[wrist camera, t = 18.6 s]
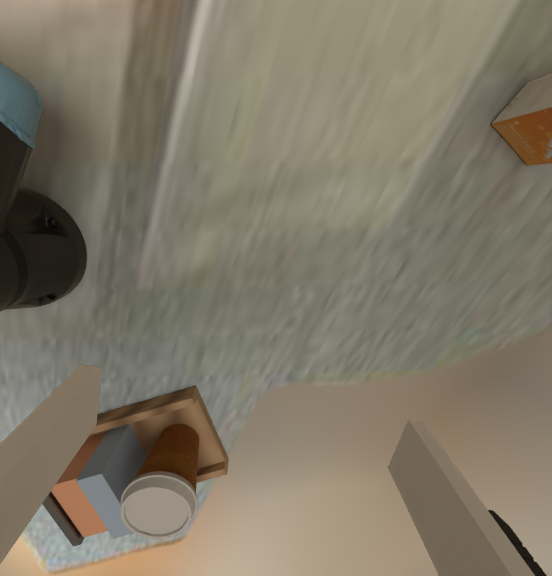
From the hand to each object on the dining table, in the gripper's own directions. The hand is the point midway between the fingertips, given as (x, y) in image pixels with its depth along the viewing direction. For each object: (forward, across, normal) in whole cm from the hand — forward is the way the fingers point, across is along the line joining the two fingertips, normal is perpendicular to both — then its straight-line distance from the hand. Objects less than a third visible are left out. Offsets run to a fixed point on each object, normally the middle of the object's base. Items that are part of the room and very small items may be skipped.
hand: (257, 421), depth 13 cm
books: (+30, -15, -36) cm, 49 cm away
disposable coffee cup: (+30, -6, -31) cm, 44 cm away
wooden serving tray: (+32, -11, -34) cm, 47 cm away
